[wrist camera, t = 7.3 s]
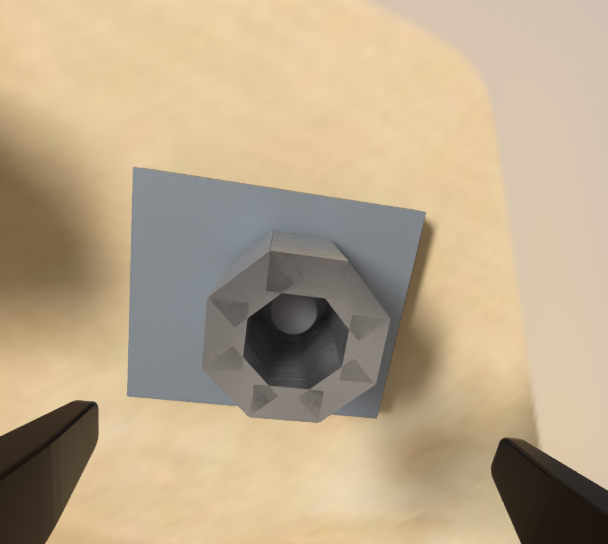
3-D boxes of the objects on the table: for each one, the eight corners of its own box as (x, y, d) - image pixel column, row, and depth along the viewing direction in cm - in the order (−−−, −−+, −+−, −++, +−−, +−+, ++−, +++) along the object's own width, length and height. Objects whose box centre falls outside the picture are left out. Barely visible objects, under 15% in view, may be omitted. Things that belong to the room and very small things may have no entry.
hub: (343, 360, 18) (366, 426, 13) (221, 348, 17) (197, 413, 12) (366, 242, 16) (401, 268, 12) (232, 224, 16) (211, 243, 11)
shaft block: (370, 402, 21) (392, 455, 17) (138, 380, 20) (100, 433, 16) (414, 209, 18) (453, 218, 14) (146, 168, 17) (101, 164, 13)
